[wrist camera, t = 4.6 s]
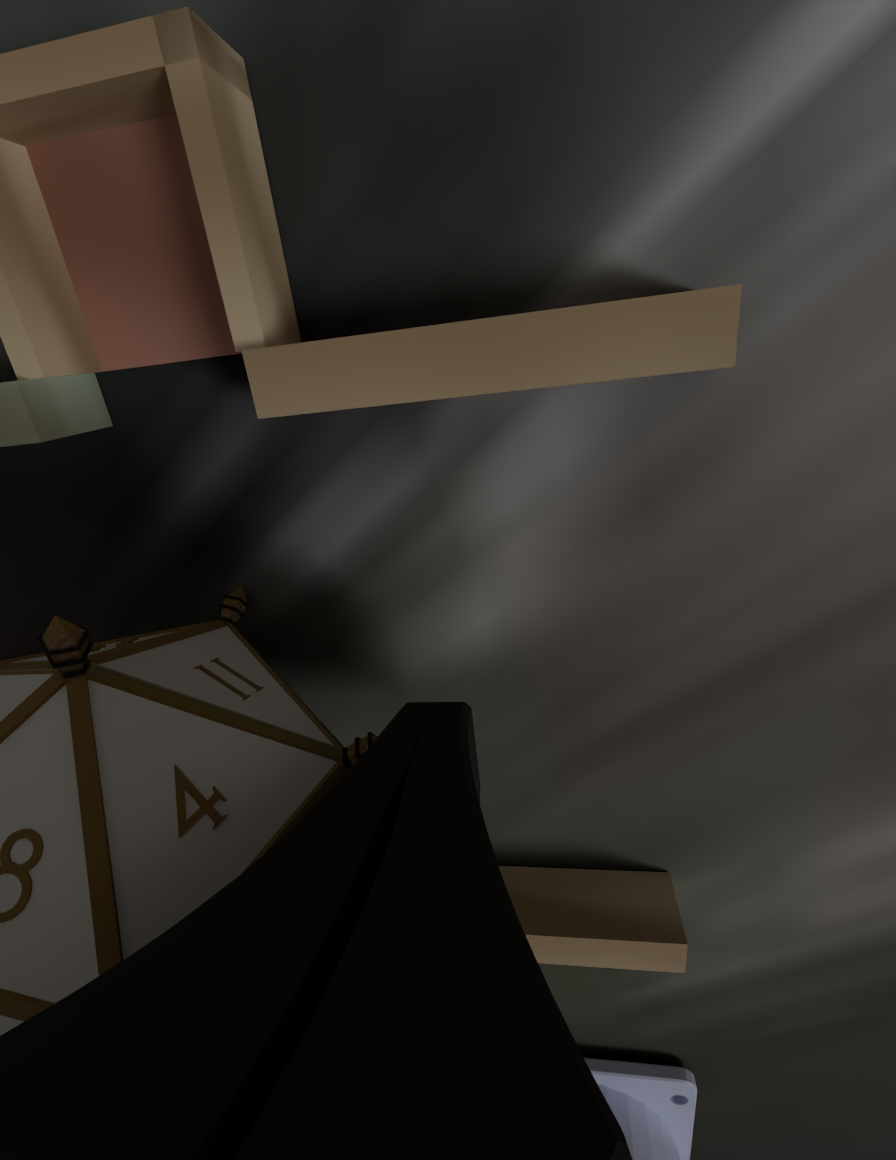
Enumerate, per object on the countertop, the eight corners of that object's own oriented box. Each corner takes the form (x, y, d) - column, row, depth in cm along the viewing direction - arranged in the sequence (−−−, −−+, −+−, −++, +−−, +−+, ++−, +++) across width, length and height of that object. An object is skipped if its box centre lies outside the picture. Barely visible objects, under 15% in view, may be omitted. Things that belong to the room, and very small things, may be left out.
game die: (342, 583, 16) (559, 709, 7) (290, 860, 17) (431, 1286, 8) (-62, 526, 12) (-719, 660, 3) (-111, 899, 12) (-770, 1911, 4)
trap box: (662, 995, 16) (689, 1133, 13) (9, 946, 20) (-74, 1044, 17) (723, -53, 7) (839, -285, 4) (-465, 223, 11) (-790, 188, 8)
